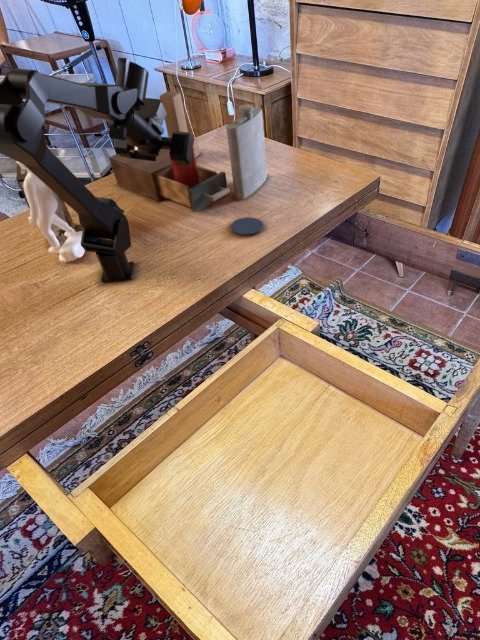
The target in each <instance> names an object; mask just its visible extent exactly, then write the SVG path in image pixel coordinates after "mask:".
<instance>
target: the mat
mask: <svg viewBox="0 0 480 640" xmlns="http://www.w3.org/2000/svg"><path fill="white" fill-rule="evenodd" d="M230 229H231V232H232V233H233V234H235V235H237V236H242V237H248V236H249V237H250V236H255V235H257V234H259V233H261V232H262V230H263V229H264V224H263V222H262V221H261V220H260V219H258V218H257V217H256V218H255V217H242V218H238V219H236V220H234V221H233V222H232V223H231V225H230Z"/></svg>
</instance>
